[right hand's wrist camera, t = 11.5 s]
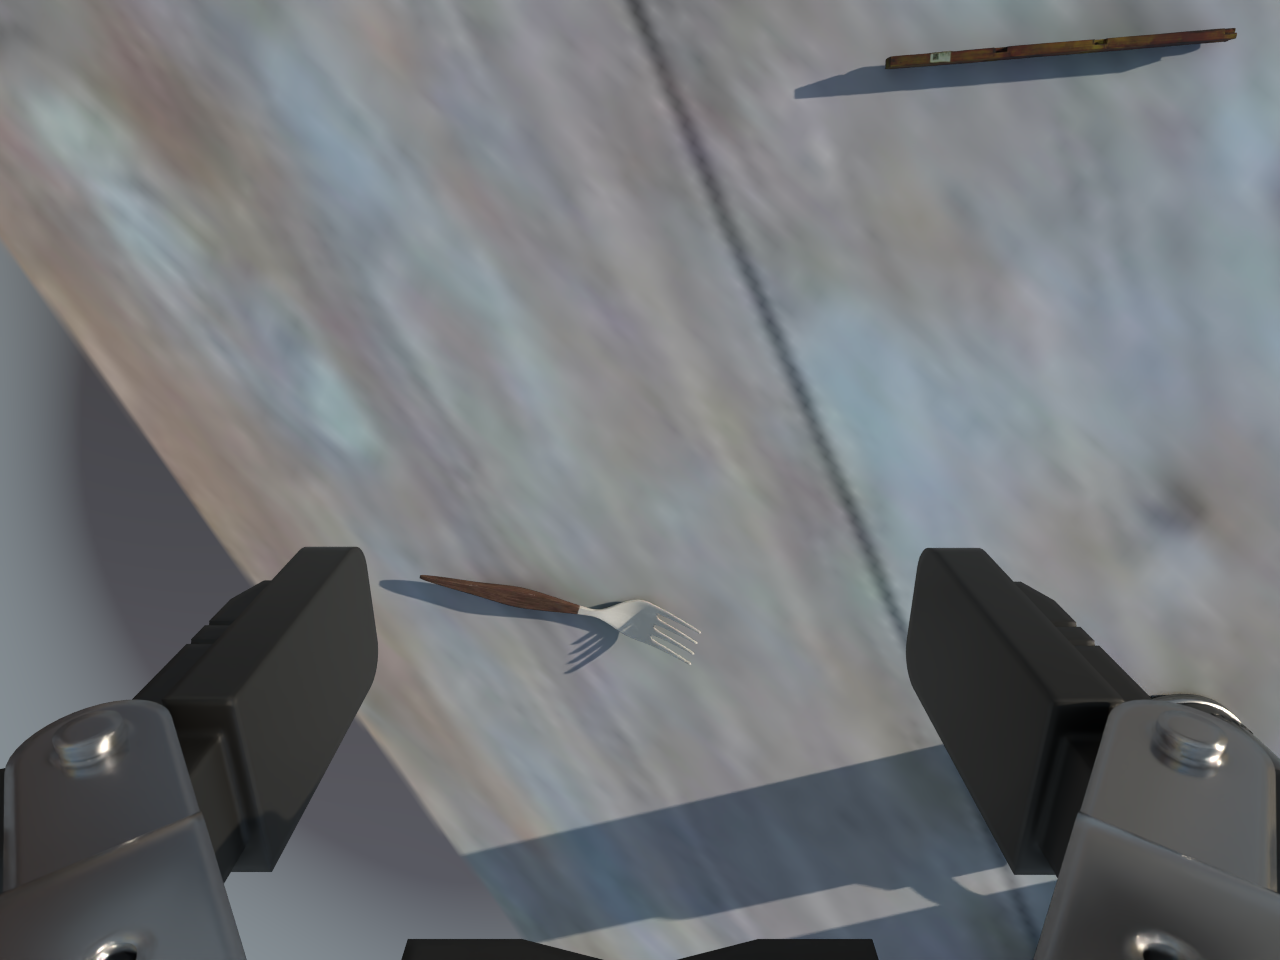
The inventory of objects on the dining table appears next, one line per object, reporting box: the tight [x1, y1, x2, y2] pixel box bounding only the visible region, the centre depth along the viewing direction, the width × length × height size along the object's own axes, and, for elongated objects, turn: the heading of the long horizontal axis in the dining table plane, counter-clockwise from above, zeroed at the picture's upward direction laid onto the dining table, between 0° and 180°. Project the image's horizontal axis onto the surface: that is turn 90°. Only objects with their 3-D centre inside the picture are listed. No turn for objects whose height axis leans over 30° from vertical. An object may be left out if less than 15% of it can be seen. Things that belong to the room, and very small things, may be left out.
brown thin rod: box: [885, 28, 1237, 69], centre depth 34 cm, size 15×1×1 cm, turn 94°
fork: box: [420, 575, 701, 665], centre depth 43 cm, size 3×16×2 cm, turn 76°
